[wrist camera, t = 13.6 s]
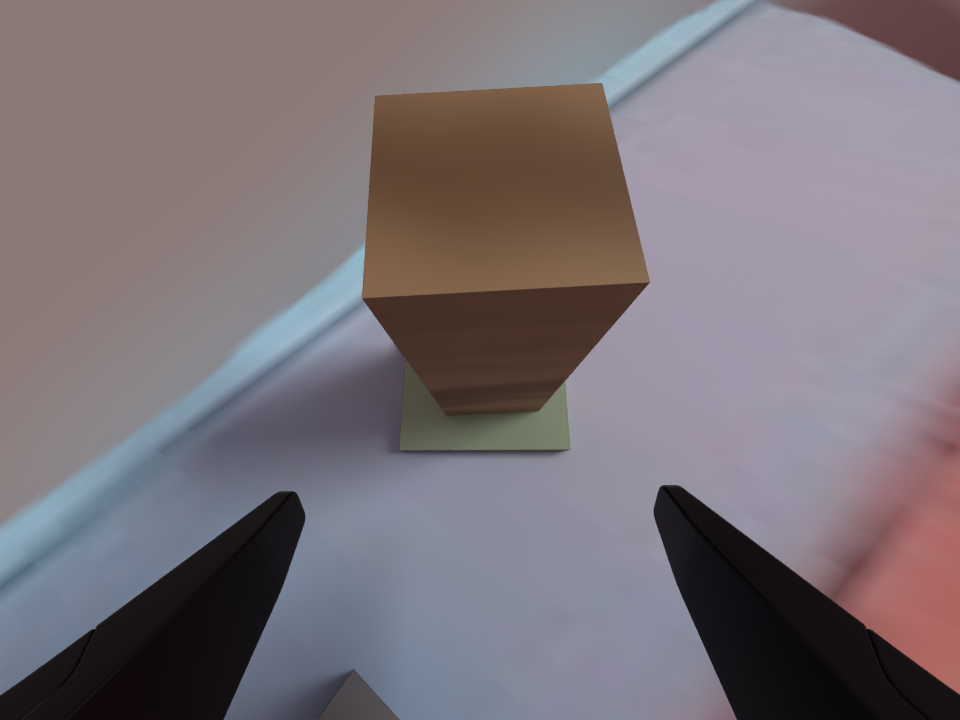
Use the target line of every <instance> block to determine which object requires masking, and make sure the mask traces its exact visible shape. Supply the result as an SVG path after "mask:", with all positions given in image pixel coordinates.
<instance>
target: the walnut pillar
mask: <svg viewBox="0 0 960 720" xmlns="http://www.w3.org/2000/svg"><path fill="white" fill-rule="evenodd" d="M649 283H650V280H649V276H648V272H647V268H646V264H645V260H644V255H643V251H642V247H641V243H640V239H639V235H638V230H637V226H636V222H635V218H634V214H633V210H632V205H631V201H630V197H629V193H628V189H627V185H626V180H625V176H624V172H623V168H622V164H621V159H620V155H619V151H618V147H617V143H616V139H615V134H614V130H613V126H612V122H611V118H610V114H609V109H608V105H607V101H606V97H605V93H604V89H603V84H602V83H595V84H577V85H561V86H543V87H525V88H507V89H489V90H471V91H456V92H455V91H454V92H437V93H418V94H402V95H383V96H375V107H374V122H373V139H372V153H371V168H370V183H369V199H368V214H367V230H366V244H365V259H364V275H363V290H362V299H363V300H364V302H365V303H366V305H367V306H368V307H369V309H370V310H371V311H372V313H373V314H374V316H375V317H376V318H377V320H378V321H379V323H380V324H381V325H382V327H383V328H384V330H385V331H386V332H387V334H388V335H389V336H390V338H391V339H392V341H393V342H394V343H395V345H396V346H397V348H398V349H399V350H400V352H401V353H402V355H403V356H404V357H405V359H406V360H407V361H408V363H409V364H410V366H411V367H412V368H413V370H414V371H415V373H416V374H417V375H418V377H419V378H420V380H421V381H422V382H423V384H424V385H425V386H426V388H427V389H428V391H429V392H430V393H431V395H432V396H433V398H434V399H435V400H436V402H437V403H438V405H439V406H440V407H441V409H442V410H443V411H444V413H445V414H446V416H453V415H471V414H489V413H507V412H526V411H540V409H541V408H542V407H543V406H544V405H545V404H546V402H547V401H548V400H549V399H550V398H551V397H552V395H553V394H554V393H555V392H556V391H557V390H558V388H559V387H560V386H561V385H562V384H563V383H564V381H565V380H566V379H567V378H568V377H569V376H570V374H571V373H572V372H573V371H574V370H575V369H576V368H577V366H578V365H579V364H580V363H581V362H582V361H583V359H584V358H585V357H586V356H587V355H588V354H589V352H590V351H591V350H592V349H593V348H594V347H595V345H596V344H597V343H598V342H599V341H600V340H601V338H602V337H603V336H604V335H605V334H606V333H607V332H608V330H609V329H610V328H611V327H612V326H613V325H614V323H615V322H616V321H617V320H618V319H619V318H620V316H621V315H622V314H623V313H624V312H625V311H626V309H627V308H628V307H629V306H630V305H631V304H632V302H633V301H634V300H635V299H636V298H637V297H638V295H639V294H640V293H641V292H642V291H643V290H644V289H645V287H646V286H647V285H648V284H649Z"/></svg>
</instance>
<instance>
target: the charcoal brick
mask: <svg viewBox="0 0 960 720" xmlns="http://www.w3.org/2000/svg"><path fill="white" fill-rule="evenodd" d="M318 720H399V719H398V717H397V716H396V715H395V714H394V713H393V712H392V711H391V710H390V709H389V707H388V706H387V705H386V704H385V703H384V702H383V701H382V700H381V699H380V698H379V696H378V695H377V694H376V693H375V692H374V691H373V690H372V689H371V688H370V687H369V685H368V684H367V683H366V682H365V681H364V680H363V679H362V678H361V677H360V676H359V674H358V673H357V672H356V671H355V670H353V671H352V673H351V674H350V675H349V677H348V678H347V680H346V681H345V682H344V684H343V685H342V686H341V688H340V689H339V691H338V692H337V693H336V695H335V696H334V698H333V699H332V700H331V702H330V703H329V704H328V706H327V707H326V709H325V710H324V711H323V713H322V714H321V715H320V717H319V718H318Z"/></svg>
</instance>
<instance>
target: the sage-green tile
mask: <svg viewBox="0 0 960 720" xmlns="http://www.w3.org/2000/svg"><path fill="white" fill-rule="evenodd" d="M570 449H571V447H570V435H569V423H568V411H567V399H566V387H565V381H564V383H563V384H562V385H561V386H560V387H559V388H558V390H557V391H556V392H555V393H554V394H553V395H552V397H551V398H550V399H549V400H548V401H547V402H546V404H545V405H544V406H543V407H542V408H541V409H540V411H526V412H507V413H489V414H471V415H453V416H446V414H445V413H444V411H443V410H442V409H441V407H440V406H439V405H438V403H437V402H436V400H435V399H434V398H433V396H432V395H431V393H430V392H429V391H428V389H427V388H426V386H425V385H424V384H423V382H422V381H421V380H420V378H419V377H418V375H417V374H416V373H415V371H414V370H413V368H412V367H411V366H410V364H409V363H408V361H407V360H406V359H405V373H404V387H403V401H402V415H401V429H400V443H399V450H401V451H491V450H570Z"/></svg>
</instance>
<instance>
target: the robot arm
mask: <svg viewBox="0 0 960 720" xmlns="http://www.w3.org/2000/svg"><path fill="white" fill-rule="evenodd" d="M654 518H655V521H656V524H657V527H658V530H659V533H660V536H661V539H662V542H663V545H664V548H665V551H666V554H667V557H668V560H669V563H670V566H671V569H672V572H673V575H674V577H675V580H676V583H677V586H678V588H679V590H680V593H681V595H682V598H683V600H684V602H685V604H686V606H687V609H688V611H689V613H690V615H691V618H692V620H693V622H694V624H695V627H696V629H697V631H698V633H699V636H700V638H701V640H702V642H703V645H704V647H705V649H706V651H707V653H708V656H709V658H710V660H711V662H712V665H713V667H714V669H715V671H716V674H717V676H718V678H719V680H720V683H721V685H722V687H723V689H724V692H725V694H726V696H727V698H728V701H729V703H730V705H731V707H732V709H733V712H734V714H735V716H736V718H737V720H960V694H958V693H957V692H955V691H954V690H952V689H951V688H950V687H948V686H947V685H945V684H944V683H943V682H941V681H940V680H939V679H937V678H936V677H934V676H933V675H932V674H930V673H929V672H928V671H926V670H925V669H924V668H922V667H921V666H919V665H918V664H917V663H915V662H914V661H913V660H911V659H910V658H909V657H907V656H906V655H904V654H903V653H902V652H900V651H899V650H898V649H896V648H895V647H894V646H892V645H891V644H890V643H888V642H887V641H886V640H884V639H883V638H882V637H880V636H879V635H878V634H876V633H875V632H874V631H872V630H871V629H866V626H865V625H864V624H863V623H862V622H860V621H859V620H858V619H856V618H855V617H854V616H852V615H851V614H850V613H848V612H847V611H846V610H844V609H843V608H842V607H840V606H839V605H838V604H836V603H835V602H834V601H832V600H831V599H830V598H828V597H827V596H826V595H824V594H823V593H822V592H820V591H819V590H818V589H816V588H815V587H814V586H812V585H811V584H810V583H808V582H807V581H806V580H804V579H803V578H802V577H800V576H799V575H798V574H796V573H795V572H794V571H792V570H791V569H790V568H789V567H787V566H786V565H785V564H783V563H782V562H781V561H779V560H778V559H777V558H775V557H774V556H773V555H771V554H770V553H769V552H767V551H766V550H765V549H763V548H762V547H761V546H759V545H758V544H757V543H755V542H754V541H753V540H751V539H750V538H749V537H747V536H746V535H745V534H743V533H742V532H741V531H739V530H738V529H737V528H735V527H734V526H733V525H731V524H730V523H729V522H727V521H726V520H725V519H723V518H722V517H721V516H719V515H718V514H717V513H715V512H714V511H713V510H711V509H710V508H709V507H707V506H706V505H705V504H703V503H702V502H701V501H699V500H698V499H697V498H696V497H694V496H693V495H692V494H690V493H689V492H688V491H686V490H685V489H684V488H682V487H680V486H678V485H663V486H661V487H660V488H659V491H658V494H657V498H656V502H655V506H654ZM304 523H305V512H304V509H303V507H302V504H301V502H300V499H299V497H298V495H297V493H296V492H293V491H282V492H278V493H276V494H274V495H273V496H271V497H270V498H269V499H267V500H266V501H265V502H263V503H262V504H261V505H259V506H258V507H257V508H255V509H254V510H253V511H251V512H250V513H248V514H247V515H246V516H244V517H243V518H242V519H240V520H239V521H238V522H236V523H235V524H234V525H232V526H231V527H230V528H228V529H227V530H226V531H224V532H223V533H221V534H220V535H219V536H217V537H216V538H215V539H213V540H212V541H211V542H209V543H208V544H207V545H205V546H204V547H203V548H201V549H200V550H199V551H197V552H196V553H194V554H193V555H192V556H190V557H189V558H188V559H186V560H185V561H184V562H182V563H181V564H180V565H178V566H177V567H176V568H174V569H173V570H172V571H170V572H169V573H167V574H166V575H165V576H163V577H162V578H161V579H159V580H158V581H157V582H155V583H154V584H153V585H151V586H150V587H149V588H147V589H146V590H145V591H143V592H142V593H140V594H139V595H138V596H136V597H135V598H134V599H132V600H131V601H130V602H128V603H127V604H126V605H124V606H123V607H122V608H120V609H119V610H118V611H116V612H115V613H113V614H112V615H111V616H109V617H108V618H107V619H105V620H104V621H103V622H101V623H100V624H99V625H97V627H96V629H92V630H90V631H89V632H88V633H86V634H85V635H84V636H82V637H81V638H80V639H78V640H77V641H76V642H74V643H73V644H71V645H70V646H69V647H67V648H66V649H65V650H63V651H62V652H61V653H59V654H58V655H56V656H55V657H54V658H52V659H51V660H49V661H48V662H47V663H45V664H44V665H43V666H41V667H40V668H38V669H37V670H36V671H34V672H33V673H32V674H30V675H29V676H27V677H26V678H25V679H23V680H22V681H20V682H19V683H18V684H16V685H15V686H13V687H12V688H10V689H9V690H7V691H6V692H5V693H3V694H2V695H0V720H224V717H225V715H226V713H227V711H228V708H229V706H230V704H231V702H232V699H233V697H234V695H235V693H236V690H237V688H238V686H239V684H240V681H241V679H242V677H243V675H244V672H245V670H246V668H247V666H248V664H249V661H250V659H251V657H252V655H253V652H254V650H255V648H256V646H257V643H258V641H259V639H260V637H261V634H262V632H263V630H264V628H265V625H266V623H267V621H268V619H269V617H270V614H271V612H272V610H273V608H274V605H275V603H276V601H277V599H278V596H279V594H280V592H281V589H282V587H283V584H284V581H285V579H286V576H287V573H288V570H289V567H290V564H291V561H292V558H293V555H294V552H295V549H296V547H297V544H298V541H299V538H300V535H301V532H302V529H303V526H304Z"/></svg>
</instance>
